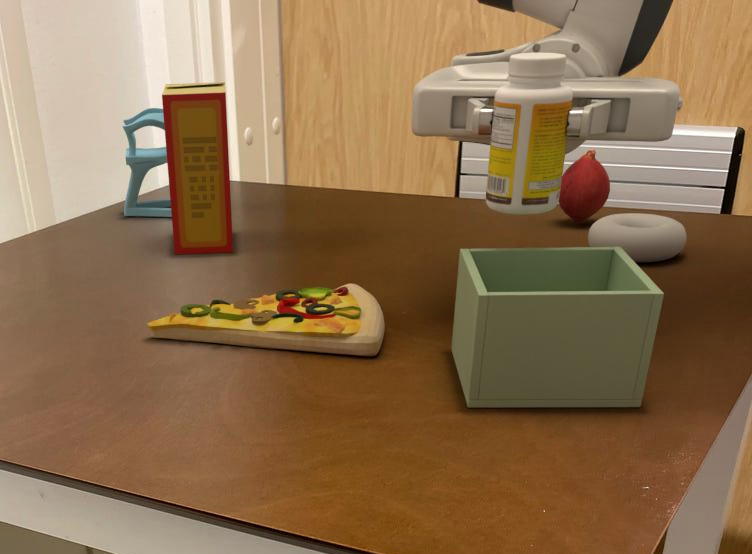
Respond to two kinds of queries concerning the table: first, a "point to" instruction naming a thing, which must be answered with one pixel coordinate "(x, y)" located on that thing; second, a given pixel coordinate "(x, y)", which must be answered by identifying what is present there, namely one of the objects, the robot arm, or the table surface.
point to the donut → (639, 235)
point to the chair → (144, 165)
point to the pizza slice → (285, 321)
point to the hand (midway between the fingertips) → (528, 123)
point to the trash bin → (553, 327)
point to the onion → (584, 188)
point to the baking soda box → (198, 167)
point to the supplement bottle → (529, 135)
